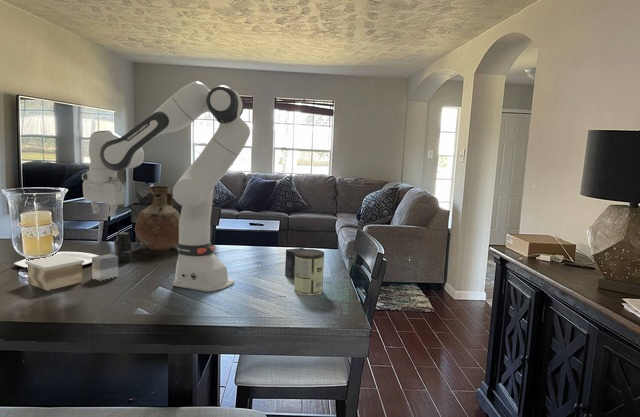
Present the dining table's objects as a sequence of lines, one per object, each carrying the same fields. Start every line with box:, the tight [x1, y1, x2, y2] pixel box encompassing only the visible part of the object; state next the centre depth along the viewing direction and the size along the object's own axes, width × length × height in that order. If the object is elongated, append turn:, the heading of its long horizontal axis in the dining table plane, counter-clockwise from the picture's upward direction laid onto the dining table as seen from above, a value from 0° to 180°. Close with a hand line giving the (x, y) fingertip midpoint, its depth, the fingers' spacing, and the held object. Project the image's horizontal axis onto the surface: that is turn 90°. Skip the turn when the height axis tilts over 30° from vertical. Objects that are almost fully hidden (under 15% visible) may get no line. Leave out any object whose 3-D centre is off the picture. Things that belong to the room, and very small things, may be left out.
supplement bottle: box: [113, 231, 133, 264], centre depth 183 cm, size 7×7×12 cm
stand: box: [25, 254, 84, 291], centre depth 152 cm, size 13×13×8 cm
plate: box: [13, 251, 99, 269], centre depth 176 cm, size 27×27×2 cm
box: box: [284, 247, 305, 279], centre depth 172 cm, size 8×6×11 cm
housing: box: [91, 253, 119, 282], centre depth 160 cm, size 5×7×8 cm
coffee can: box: [293, 248, 325, 296], centre depth 153 cm, size 10×10×14 cm
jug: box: [134, 185, 181, 252], centre depth 206 cm, size 22×22×30 cm
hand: (104, 214), depth 158 cm, fingers open, 8 cm apart
